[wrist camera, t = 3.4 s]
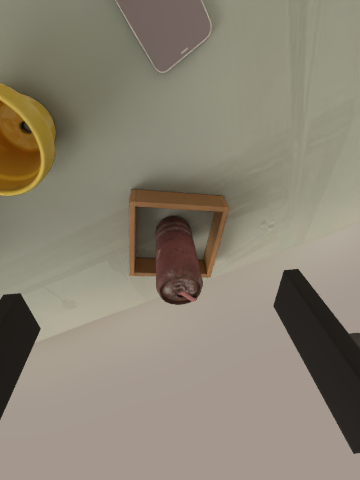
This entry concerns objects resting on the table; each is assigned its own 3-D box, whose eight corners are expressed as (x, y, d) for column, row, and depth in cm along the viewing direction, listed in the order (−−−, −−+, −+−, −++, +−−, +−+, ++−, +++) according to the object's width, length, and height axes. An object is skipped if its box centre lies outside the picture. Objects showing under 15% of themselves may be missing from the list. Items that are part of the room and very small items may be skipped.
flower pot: (87, 152, 32) (66, 180, 25) (19, 174, 33) (-21, 208, 26) (40, 61, 26) (-8, 60, 19) (-41, 92, 27) (-119, 103, 20)
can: (178, 249, 44) (187, 312, 33) (149, 235, 42) (147, 298, 30) (198, 226, 41) (215, 286, 30) (168, 209, 39) (174, 268, 28)
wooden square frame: (131, 260, 45) (129, 275, 42) (131, 189, 36) (129, 201, 33) (206, 262, 47) (210, 277, 44) (223, 195, 38) (229, 207, 35)
